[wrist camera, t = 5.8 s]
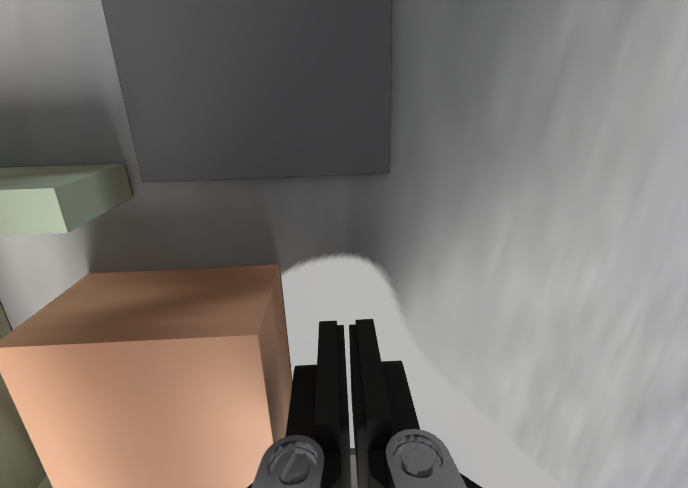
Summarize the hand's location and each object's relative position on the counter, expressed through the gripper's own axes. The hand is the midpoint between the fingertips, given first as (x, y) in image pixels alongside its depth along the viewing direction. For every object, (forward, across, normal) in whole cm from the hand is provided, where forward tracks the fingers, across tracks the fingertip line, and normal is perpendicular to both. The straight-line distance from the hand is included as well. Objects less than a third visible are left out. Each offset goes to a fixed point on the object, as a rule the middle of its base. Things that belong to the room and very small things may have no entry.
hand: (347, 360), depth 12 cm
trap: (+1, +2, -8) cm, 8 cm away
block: (+2, +5, 0) cm, 5 cm away
